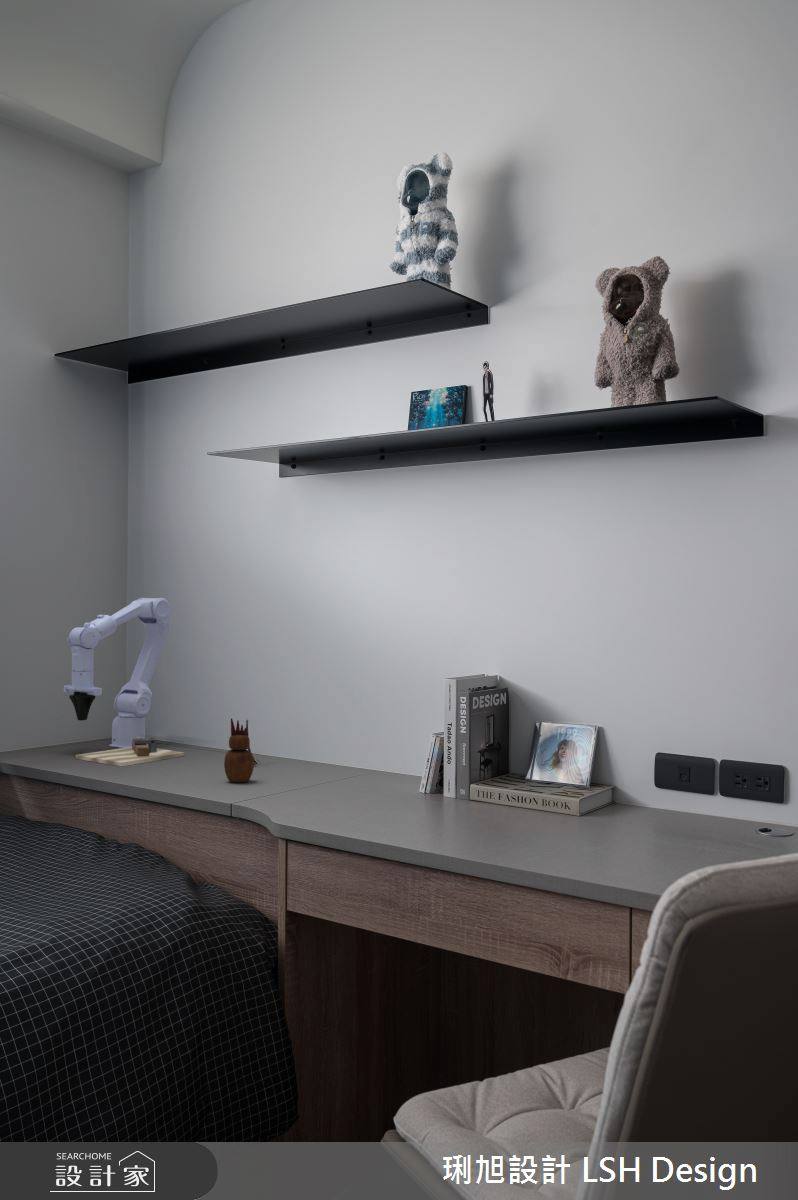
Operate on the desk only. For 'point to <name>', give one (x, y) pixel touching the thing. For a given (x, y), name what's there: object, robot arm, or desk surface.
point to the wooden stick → (140, 748)
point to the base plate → (127, 756)
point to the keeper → (151, 743)
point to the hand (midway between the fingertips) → (82, 720)
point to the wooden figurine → (238, 756)
